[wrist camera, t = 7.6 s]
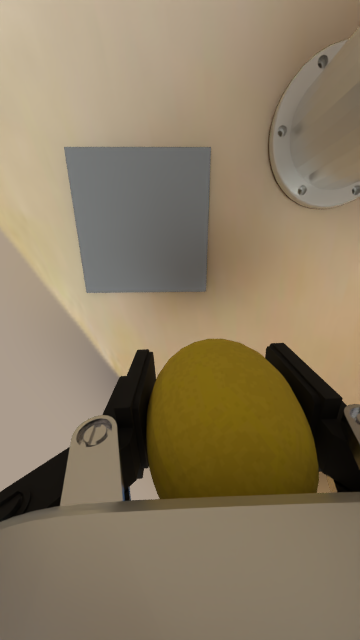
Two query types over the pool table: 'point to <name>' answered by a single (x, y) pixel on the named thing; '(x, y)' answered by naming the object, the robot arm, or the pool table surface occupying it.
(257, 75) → the pool table surface
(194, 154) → the slate pad
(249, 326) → the pool table surface
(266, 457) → the lemon
